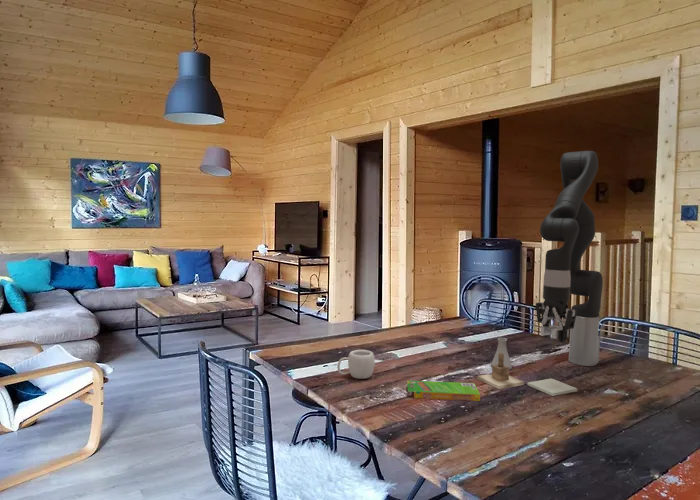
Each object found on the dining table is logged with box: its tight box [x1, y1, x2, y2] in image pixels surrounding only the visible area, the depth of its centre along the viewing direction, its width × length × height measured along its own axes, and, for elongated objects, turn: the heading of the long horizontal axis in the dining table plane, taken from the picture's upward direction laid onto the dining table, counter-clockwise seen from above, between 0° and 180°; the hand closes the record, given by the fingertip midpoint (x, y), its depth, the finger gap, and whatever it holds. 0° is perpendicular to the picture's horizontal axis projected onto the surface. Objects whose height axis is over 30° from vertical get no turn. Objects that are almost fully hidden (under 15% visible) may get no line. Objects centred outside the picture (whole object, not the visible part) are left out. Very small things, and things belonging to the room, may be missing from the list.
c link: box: [539, 324, 570, 340], centre depth 153 cm, size 6×6×2 cm
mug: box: [336, 349, 375, 380], centre depth 163 cm, size 12×8×8 cm
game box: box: [406, 380, 481, 402], centre depth 149 cm, size 3×10×20 cm
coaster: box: [527, 378, 578, 397], centre depth 155 cm, size 10×10×1 cm
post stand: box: [476, 353, 525, 390], centre depth 159 cm, size 10×10×9 cm
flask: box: [490, 337, 513, 370], centre depth 175 cm, size 7×7×10 cm
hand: (554, 339), depth 154 cm, fingers closed on c link, 5 cm apart
